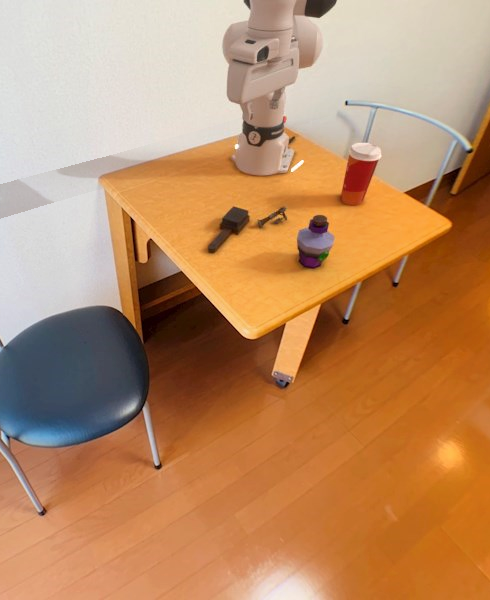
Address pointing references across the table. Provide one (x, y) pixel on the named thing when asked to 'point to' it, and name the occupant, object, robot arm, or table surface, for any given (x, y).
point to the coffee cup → (359, 172)
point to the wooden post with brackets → (273, 215)
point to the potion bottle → (314, 242)
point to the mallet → (230, 227)
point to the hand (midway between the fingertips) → (260, 114)
